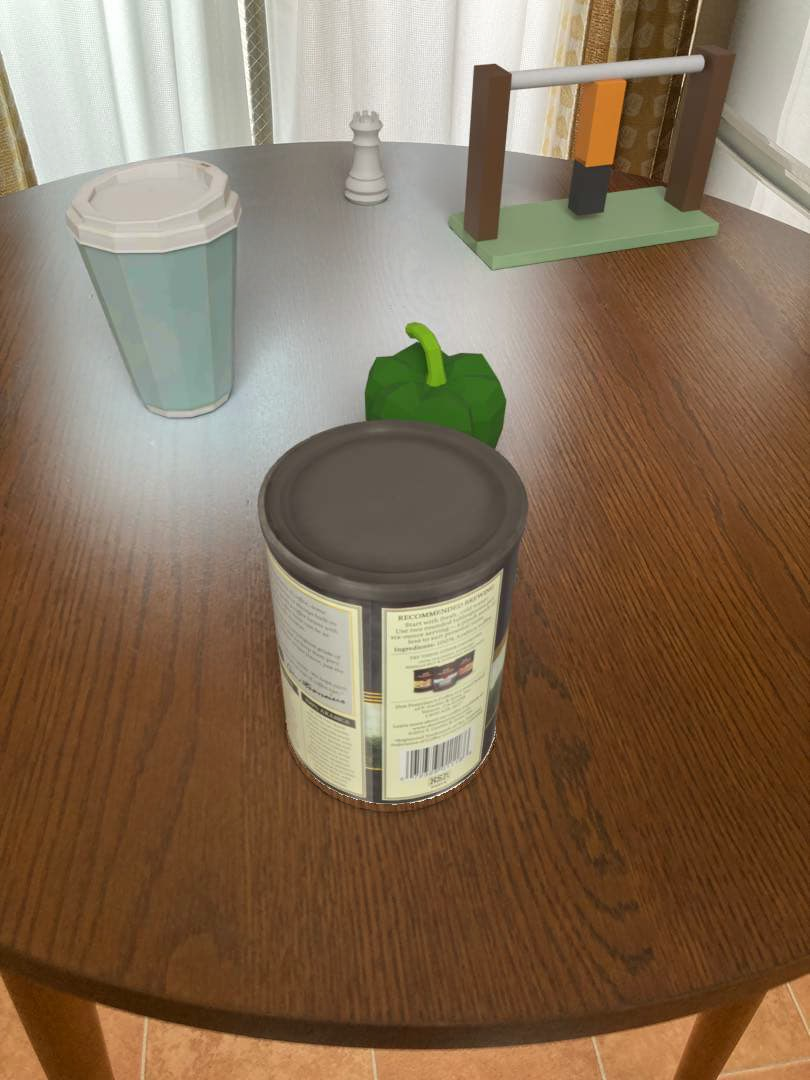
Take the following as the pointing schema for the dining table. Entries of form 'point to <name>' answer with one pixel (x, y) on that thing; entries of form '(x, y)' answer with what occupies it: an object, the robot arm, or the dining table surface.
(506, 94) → the foosball stand
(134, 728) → the dining table surface
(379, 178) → the rook chess piece
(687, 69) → the foosball rod
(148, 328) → the disposable coffee cup
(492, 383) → the bell pepper
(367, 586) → the coffee can
